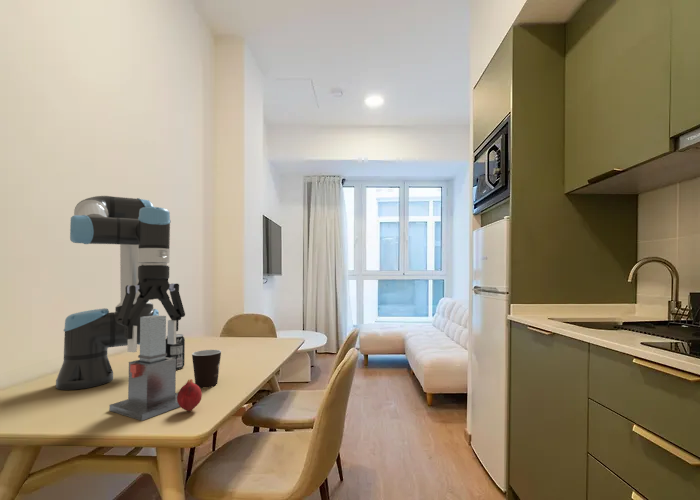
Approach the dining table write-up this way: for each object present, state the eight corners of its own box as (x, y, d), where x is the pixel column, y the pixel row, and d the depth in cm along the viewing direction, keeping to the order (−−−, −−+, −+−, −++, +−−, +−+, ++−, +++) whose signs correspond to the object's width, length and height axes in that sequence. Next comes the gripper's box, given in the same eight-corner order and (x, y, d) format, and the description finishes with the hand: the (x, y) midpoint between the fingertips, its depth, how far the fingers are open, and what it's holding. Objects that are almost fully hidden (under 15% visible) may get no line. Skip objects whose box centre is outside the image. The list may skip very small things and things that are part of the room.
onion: (200, 414, 92) (200, 381, 92) (175, 417, 90) (175, 383, 91) (202, 406, 98) (202, 375, 98) (178, 408, 96) (179, 377, 96)
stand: (109, 410, 95) (110, 363, 96) (160, 394, 107) (160, 352, 108) (141, 420, 88) (142, 369, 89) (192, 402, 101) (192, 357, 101)
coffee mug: (211, 389, 111) (211, 356, 112) (185, 388, 113) (185, 355, 113) (231, 378, 123) (231, 348, 123) (207, 377, 124) (207, 347, 125)
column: (137, 401, 97) (138, 317, 98) (155, 396, 101) (156, 315, 103) (148, 404, 95) (150, 318, 96) (166, 398, 99) (167, 315, 100)
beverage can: (171, 365, 141) (172, 334, 141) (188, 366, 140) (188, 334, 140) (160, 370, 134) (161, 337, 135) (177, 370, 133) (177, 337, 134)
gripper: (118, 264, 88) (116, 358, 87) (199, 264, 108) (198, 341, 107) (100, 264, 92) (98, 355, 91) (182, 265, 112) (181, 339, 111)
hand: (152, 347), depth 99 cm, fingers open, 10 cm apart
